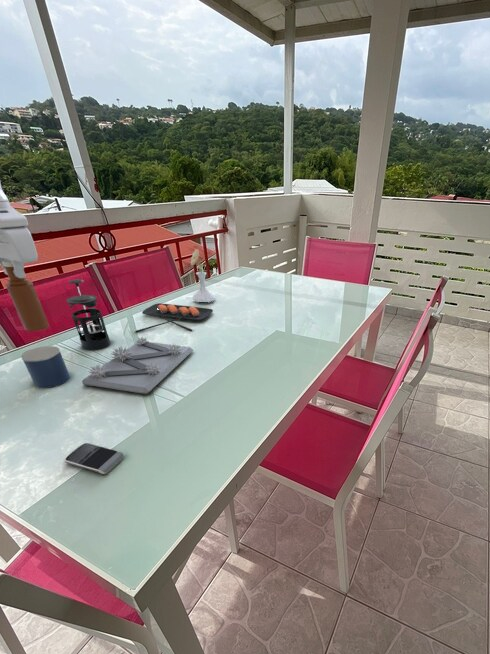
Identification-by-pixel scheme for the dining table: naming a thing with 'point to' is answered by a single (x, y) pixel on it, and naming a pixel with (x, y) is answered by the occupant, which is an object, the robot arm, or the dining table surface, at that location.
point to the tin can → (46, 366)
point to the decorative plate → (138, 366)
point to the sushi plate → (176, 313)
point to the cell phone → (94, 458)
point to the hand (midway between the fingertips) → (16, 276)
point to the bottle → (25, 300)
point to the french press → (91, 330)
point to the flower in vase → (201, 283)
